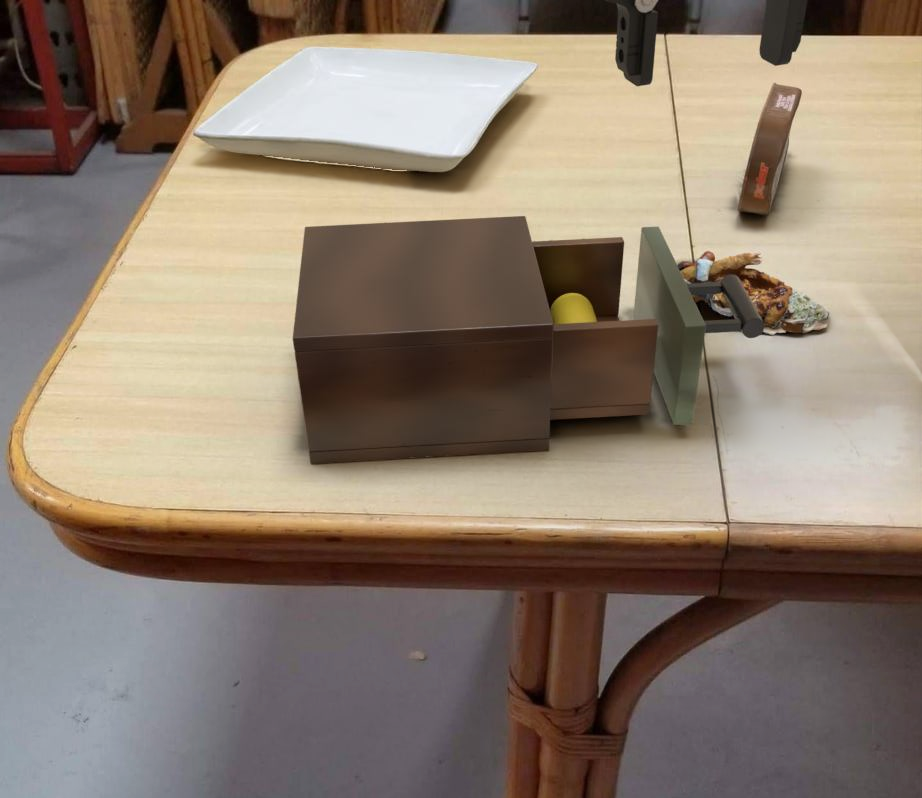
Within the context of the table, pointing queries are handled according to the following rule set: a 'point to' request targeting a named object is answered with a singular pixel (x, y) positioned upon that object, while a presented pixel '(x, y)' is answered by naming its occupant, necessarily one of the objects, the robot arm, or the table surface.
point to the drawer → (631, 328)
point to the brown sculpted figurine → (757, 293)
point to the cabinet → (422, 340)
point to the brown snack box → (769, 150)
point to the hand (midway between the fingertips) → (706, 71)
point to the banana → (572, 309)
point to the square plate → (369, 108)
